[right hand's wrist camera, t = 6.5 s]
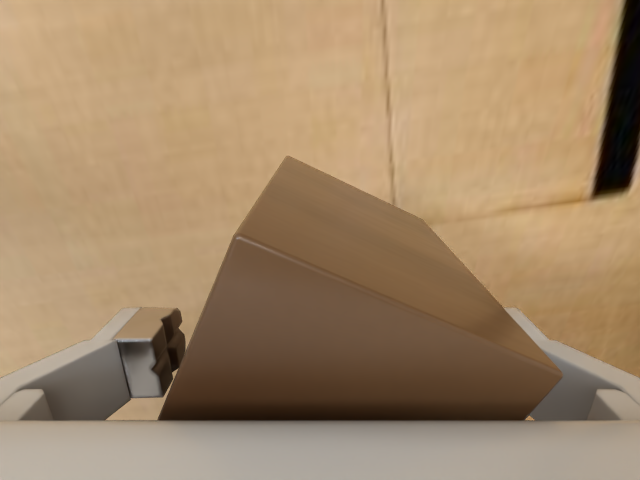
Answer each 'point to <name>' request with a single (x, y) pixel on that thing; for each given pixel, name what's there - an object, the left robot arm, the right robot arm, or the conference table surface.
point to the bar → (350, 320)
